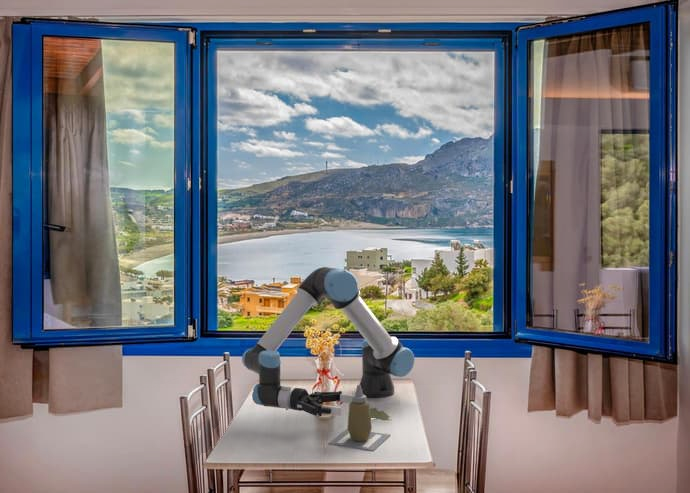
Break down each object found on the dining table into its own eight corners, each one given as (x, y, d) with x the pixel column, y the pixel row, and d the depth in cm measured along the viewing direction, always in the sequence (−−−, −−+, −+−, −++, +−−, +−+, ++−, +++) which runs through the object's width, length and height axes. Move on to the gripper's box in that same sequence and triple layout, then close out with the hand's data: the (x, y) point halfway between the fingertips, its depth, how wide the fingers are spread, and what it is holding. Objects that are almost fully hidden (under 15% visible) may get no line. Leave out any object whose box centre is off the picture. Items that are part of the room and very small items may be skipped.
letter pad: (347, 429, 210) (347, 428, 210) (390, 435, 203) (390, 434, 203) (328, 443, 197) (328, 443, 197) (373, 451, 190) (373, 450, 190)
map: (369, 428, 212) (369, 425, 212) (354, 412, 229) (354, 409, 229) (398, 425, 215) (398, 422, 215) (381, 409, 232) (381, 407, 232)
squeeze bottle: (366, 444, 195) (365, 389, 194) (343, 441, 198) (342, 387, 197) (375, 436, 202) (374, 383, 201) (353, 433, 205) (352, 381, 205)
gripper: (310, 399, 221) (364, 406, 212) (275, 420, 199) (333, 428, 190) (310, 379, 221) (363, 385, 212) (275, 397, 198) (332, 405, 189)
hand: (349, 405), depth 201 cm, fingers open, 13 cm apart
